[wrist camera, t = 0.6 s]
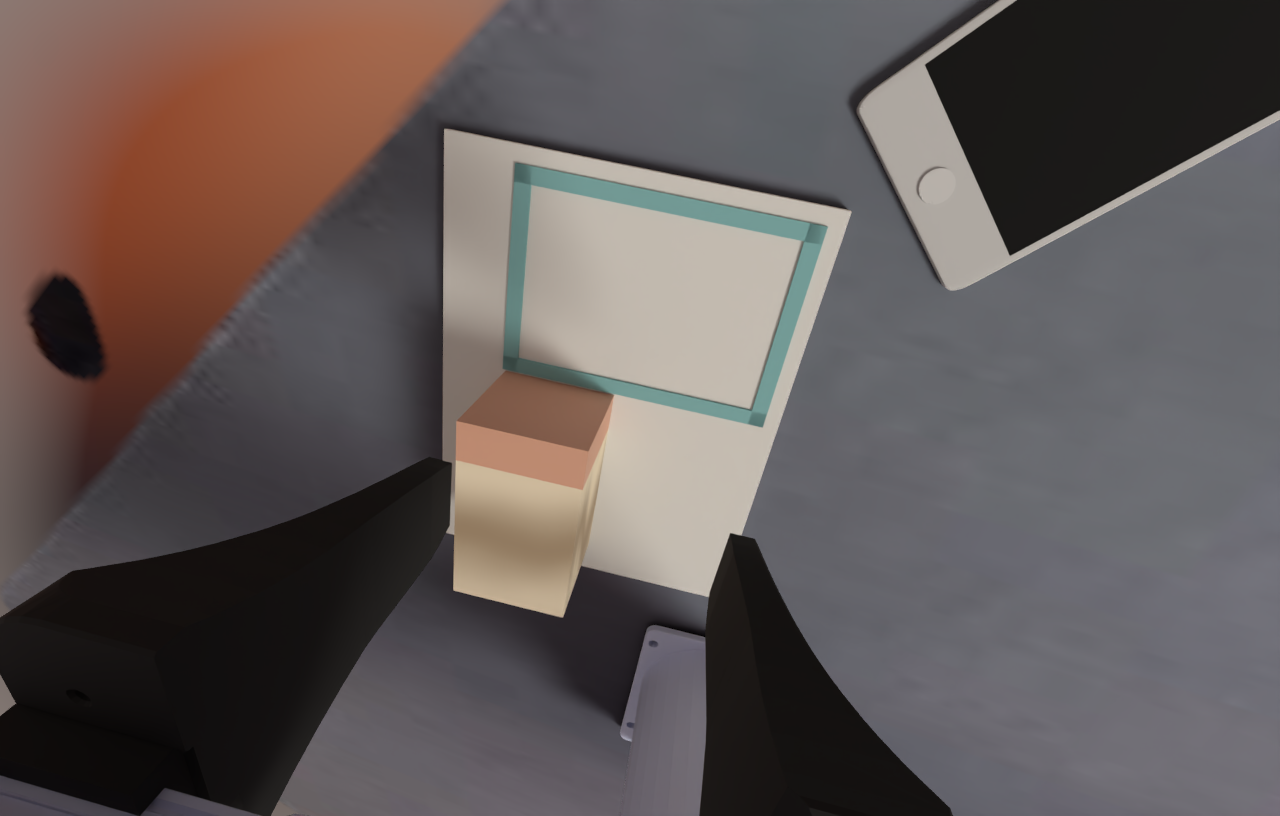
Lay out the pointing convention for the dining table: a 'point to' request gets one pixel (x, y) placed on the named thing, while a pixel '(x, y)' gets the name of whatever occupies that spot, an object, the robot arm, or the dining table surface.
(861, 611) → the dining table surface
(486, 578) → the block
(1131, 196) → the smartphone
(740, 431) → the mat
